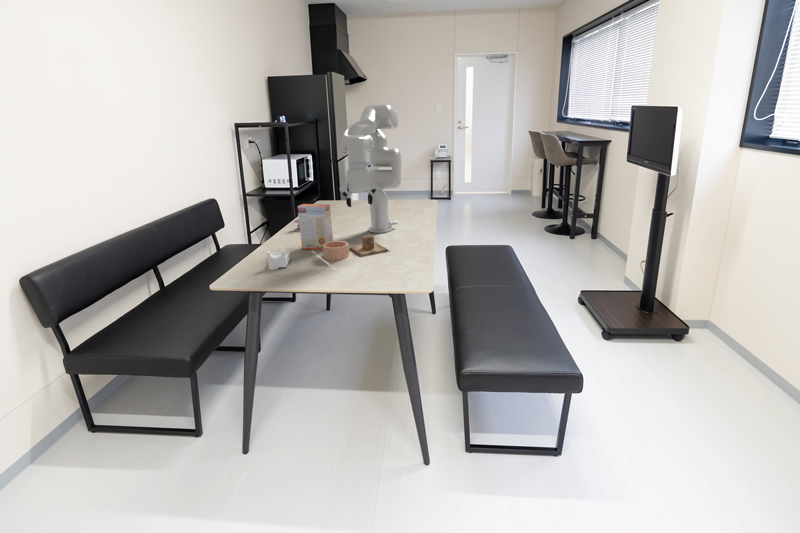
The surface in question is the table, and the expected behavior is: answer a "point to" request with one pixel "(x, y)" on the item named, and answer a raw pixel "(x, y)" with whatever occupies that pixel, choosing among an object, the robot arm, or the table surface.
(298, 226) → the lily
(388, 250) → the mat
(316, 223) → the cracker box
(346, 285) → the table surface
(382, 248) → the lid
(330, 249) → the bowl
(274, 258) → the bracket
